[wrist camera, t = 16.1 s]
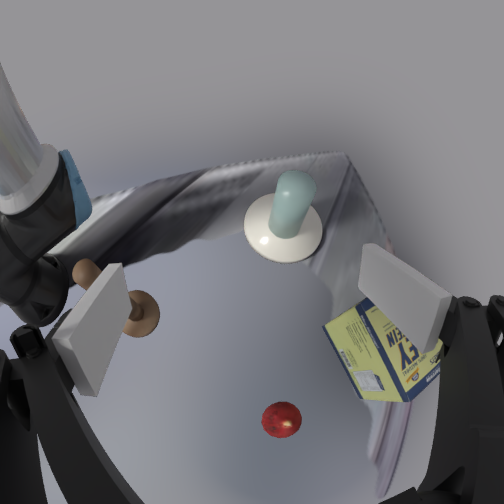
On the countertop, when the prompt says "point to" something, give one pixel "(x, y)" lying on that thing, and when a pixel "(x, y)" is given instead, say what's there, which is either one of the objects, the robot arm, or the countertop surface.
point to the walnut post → (142, 303)
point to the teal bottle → (291, 203)
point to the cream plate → (273, 245)
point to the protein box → (380, 355)
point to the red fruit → (281, 419)
